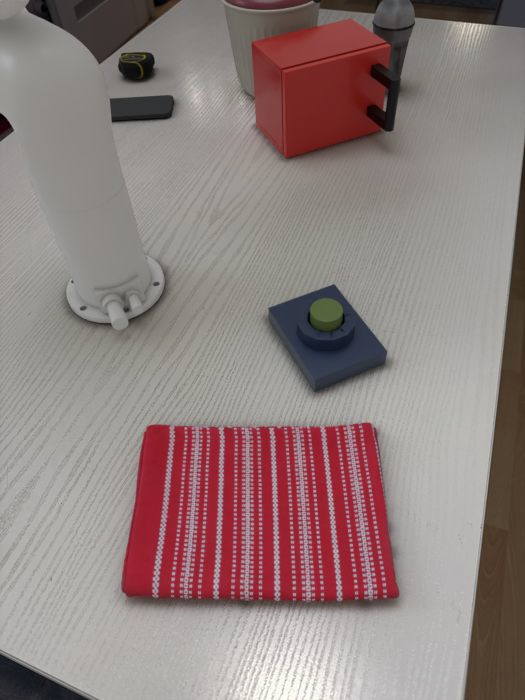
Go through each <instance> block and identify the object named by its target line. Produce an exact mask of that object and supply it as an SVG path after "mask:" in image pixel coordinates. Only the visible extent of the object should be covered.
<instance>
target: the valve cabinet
mask: <svg viewBox="0 0 525 700" xmlns="http://www.w3.org/2000/svg"><path fill="white" fill-rule="evenodd" d="M384 44H387V42H386V41H385V40H383V39H382V38H380V37H379V36H377V35H375V34H374V33H373V31H371V30H369V29H368V28H366V27H365V26H363V25H362V24H360V23H358V22H357V21H355V20H354V19H353V18H347V19H342V20H339V21H334V22H330V23H325V24H321V25H317V27H312V28H308V29H304V30H300V31H295V32H291V33H287V34H283V35H278V36H274V37H270V38H266V39H261V40H257V41H253V42H251V45H252V62H253V79H254V96H255V97H254V109H255V110H254V111H255V112H254V113H255V127H256V128H257V129H258V130H259V131H260V133H262V134H263V135H264V136H265V137H266V139H268V141H269V142H270V143H271V144H272V146H274V148H276V149H277V151H278V152H279V153H280V154H281V155H282V156H284V143H283V91H282V70H285V69H289V68H293V67H297V66H301V65H305V64H309V63H313V62H317V61H321V60H325V59H329V58H333V57H337V56H341V55H345V54H349V53H353V52H357V51H361V50H365V49H369V48H373V47H377V46H381V45H384Z"/></svg>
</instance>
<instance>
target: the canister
mask: <svg viewBox="0 0 525 700" xmlns="http://www.w3.org/2000/svg"><path fill="white" fill-rule="evenodd" d="M219 1H220V3H221V4H222V5H223V7H224V13H225V14H224V15H225V20H226V25H227V30H228V36H229V40H230V47H231V52H232V57H233V62H234V65H235V66H234V67H235V72H236V75H237V79H238V82H239V85H240V87H241V88H242V90H244V92H245V93H246V94H247V95H249V96H251V97H253V98H255V96H254V79H253V62H252V45H251V42H253V41H257V40H261V39H266V38H270V37H274V36H278V35H283V34H287V33H291V32H295V31H300V30H304V29H308V28H312V27H317V26H318V23H319V16H320V6H321V2H320V3H315V2H313V1H312V0H219Z"/></svg>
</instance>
